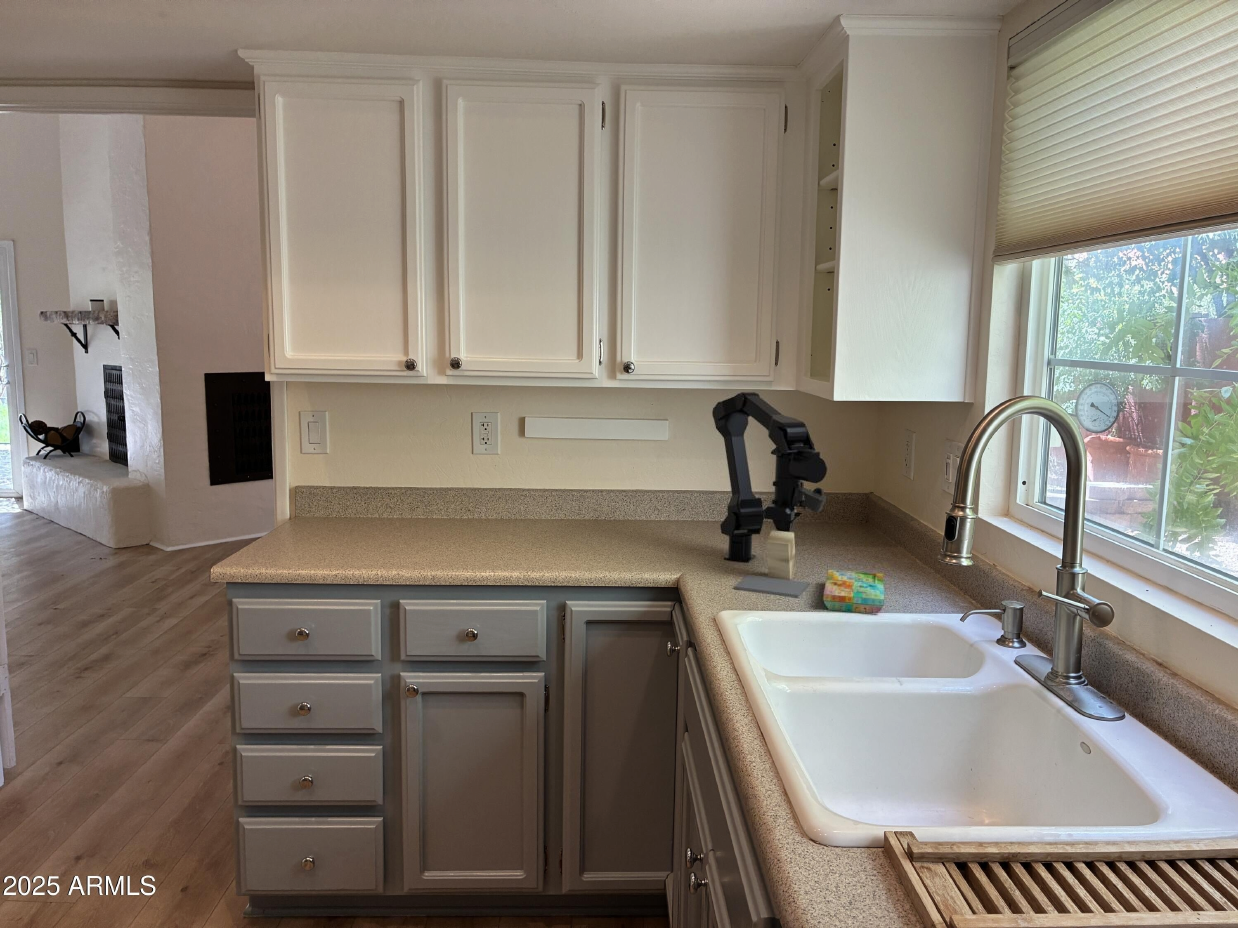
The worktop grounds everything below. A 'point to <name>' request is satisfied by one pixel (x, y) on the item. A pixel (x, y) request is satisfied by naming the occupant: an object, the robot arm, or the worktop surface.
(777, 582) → the rubber mat
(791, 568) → the maple block
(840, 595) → the puzzle game
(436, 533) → the worktop surface
